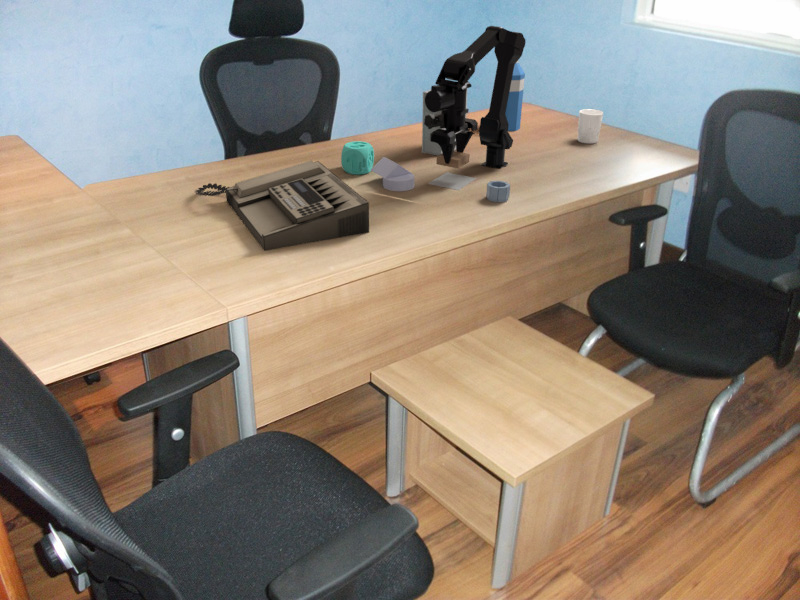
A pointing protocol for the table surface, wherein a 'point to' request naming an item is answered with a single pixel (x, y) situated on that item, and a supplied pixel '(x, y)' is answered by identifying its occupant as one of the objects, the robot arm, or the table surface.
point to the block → (454, 160)
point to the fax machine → (296, 206)
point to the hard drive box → (430, 131)
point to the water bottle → (515, 98)
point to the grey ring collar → (498, 191)
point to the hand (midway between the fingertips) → (453, 160)
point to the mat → (452, 181)
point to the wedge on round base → (394, 175)
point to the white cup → (589, 125)
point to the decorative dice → (357, 157)
